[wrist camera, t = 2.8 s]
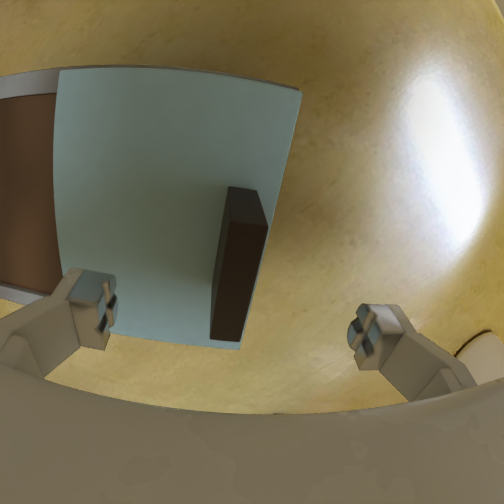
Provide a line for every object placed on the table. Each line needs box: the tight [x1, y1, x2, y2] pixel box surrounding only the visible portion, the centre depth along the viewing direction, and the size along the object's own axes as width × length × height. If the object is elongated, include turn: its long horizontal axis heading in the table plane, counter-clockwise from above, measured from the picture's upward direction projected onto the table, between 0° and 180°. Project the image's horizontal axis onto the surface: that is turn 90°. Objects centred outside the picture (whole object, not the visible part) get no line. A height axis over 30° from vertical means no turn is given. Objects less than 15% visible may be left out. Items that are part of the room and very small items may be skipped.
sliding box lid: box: [53, 68, 303, 350], centre depth 11 cm, size 10×14×4 cm
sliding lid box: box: [0, 65, 299, 305], centre depth 16 cm, size 20×14×8 cm
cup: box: [456, 333, 504, 385], centre depth 32 cm, size 10×10×10 cm
